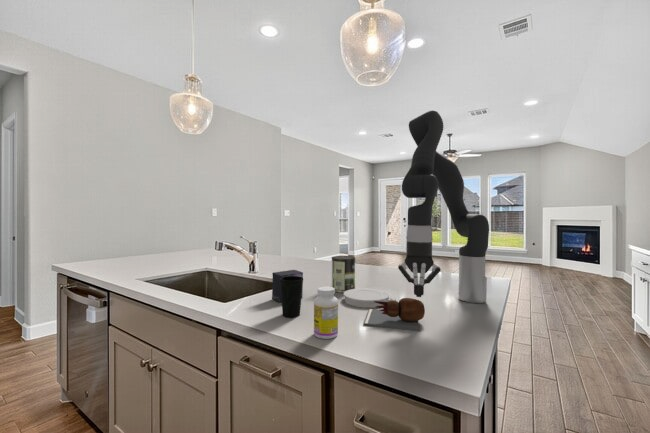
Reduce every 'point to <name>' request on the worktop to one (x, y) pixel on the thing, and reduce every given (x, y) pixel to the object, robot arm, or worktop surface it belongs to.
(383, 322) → the book
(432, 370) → the worktop surface
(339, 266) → the coffee can
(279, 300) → the small box
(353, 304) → the lid
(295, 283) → the cup
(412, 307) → the wooden figurine
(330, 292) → the supplement bottle
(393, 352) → the worktop surface
